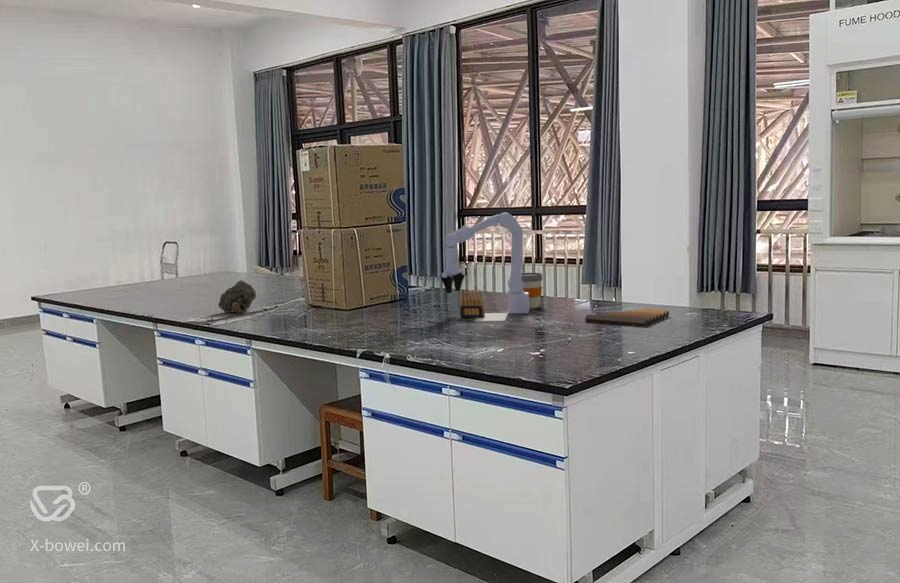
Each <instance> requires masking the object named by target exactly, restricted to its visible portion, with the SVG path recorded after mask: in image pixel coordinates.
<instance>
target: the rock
mask: <svg viewBox="0 0 900 583" xmlns="http://www.w3.org/2000/svg"><path fill="white" fill-rule="evenodd" d="M256 293H257V292H256V291H255V289H254V287H253V286H252V285H251V284H249V283H247V282H246V281H245V280H239V281H237V282H236V283H235V285H233V286H231V287H229V288H227V289H226V290H225V291H224V292H223V293H221V296H220V298H219V299H220V300H219V302H218V305H217V306H218V307H219V309H221V310H222V311H223V312H224V313H230V312H232V311H233V312H234V313H236V314H238V315H239V314H244V313H245V312H246V311H247V310H248V309H250V307H251V306H252V303H253V301H254V300H255V299H256V298H257V294H256Z"/></svg>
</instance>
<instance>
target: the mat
mask: <svg viewBox="0 0 900 583" xmlns="http://www.w3.org/2000/svg"><path fill="white" fill-rule="evenodd" d="M484 314H485V317H483V318H475V320H474V322H476V323H477V322H505V321H506V319H507V318H508V315H509V314H508V313H507V312H493V313H492V312H490V313H489V312H484Z"/></svg>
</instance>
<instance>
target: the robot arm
mask: <svg viewBox="0 0 900 583" xmlns="http://www.w3.org/2000/svg"><path fill="white" fill-rule="evenodd" d="M499 225H500V227H502V228H504V229H506V230H507V231H508V232H509V233H510V234H511V256H510V257H511V258H510V276H509V279H508V281H507V285H508V291H507V311H506V313H508V315H510V314H529V313H530V309H531V308H530V305H529V293H528V292H524V290H522V289H523V282H522V275H521V273H522V263H523V262H522V260H523V259H522V258H523V238H524V236H523V233H524V231H523V229H522V227H521V225H520V223H519V222H518V221H517V219H516V217H514V216H513V215H512V214H511V213H509V212H501V213H500V214H499V213H497V214H495V215H491V216H490V217H487V218H485V219H483V220H482V221H479V222H478V223H477V224H474V225H472V226H471V225H465V224H464V225H462V226H461V228H459V229H457V230H452V233H448V234H447V235H446V236H445V238H444V244H445V247H444V248H445V251H444V252H445V253H444V254H445V269H446V270H443V272H441V277H440V280H441V281H442V284H443V286H444V288H445V292H446V293H447V294H452V291H453V283H454V290H455V291H456V292H459V291H460V292H461V290H462V283H463V280H464V278H465V277H466V276H465V275H466V274H464V269H463V268H460V260H459V258H460V257H459V249H458V244H462V243H464V242H466V241H468V240H470V239H472V238H474V236H475V234H476V233H478V232H480V231H483V230H485V229H486V228H487V229H488V228H489V227H494V226H495V227H498V226H499Z"/></svg>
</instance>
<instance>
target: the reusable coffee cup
mask: <svg viewBox="0 0 900 583" xmlns="http://www.w3.org/2000/svg"><path fill="white" fill-rule="evenodd" d="M521 275H522V282H523V289H522V290H524V292H528V293H529V305H530V309H536V308H539V307H540V301H541V297H542V291H543V285H542V284H543V283H542V281H543V274H542V273H541V272H521Z"/></svg>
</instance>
